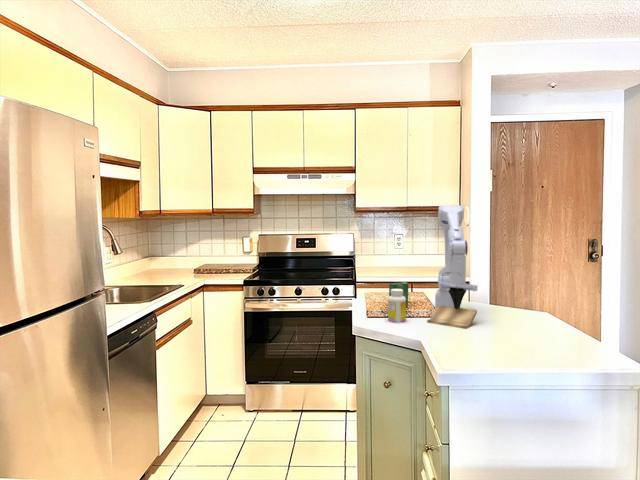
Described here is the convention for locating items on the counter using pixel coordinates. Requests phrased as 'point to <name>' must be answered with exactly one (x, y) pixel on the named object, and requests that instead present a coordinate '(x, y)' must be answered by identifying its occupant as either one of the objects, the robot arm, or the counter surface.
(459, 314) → the plank
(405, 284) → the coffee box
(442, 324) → the strip
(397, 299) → the supplement bottle
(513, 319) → the counter surface
